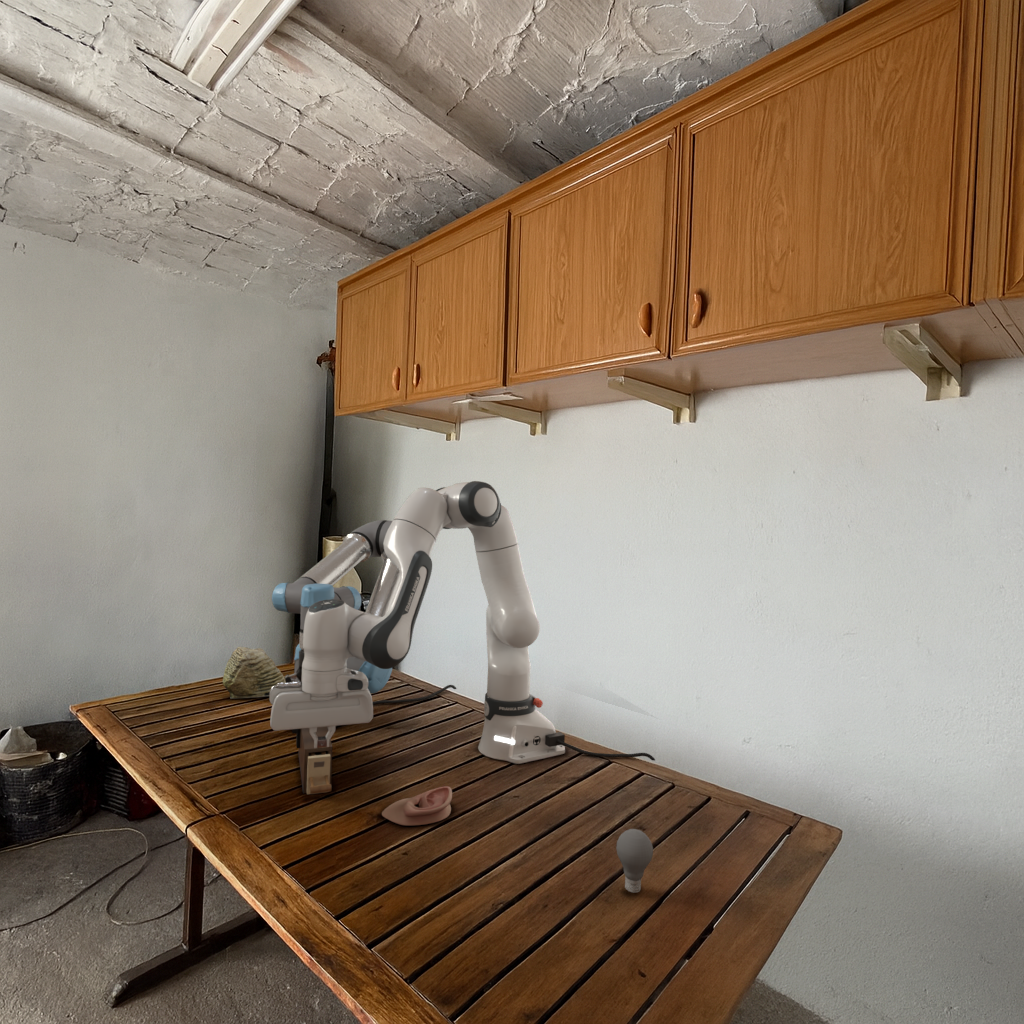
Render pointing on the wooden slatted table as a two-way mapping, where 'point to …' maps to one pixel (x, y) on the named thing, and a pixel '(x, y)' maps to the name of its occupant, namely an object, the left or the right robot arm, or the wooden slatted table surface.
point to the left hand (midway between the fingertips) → (312, 744)
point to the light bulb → (634, 857)
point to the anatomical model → (421, 808)
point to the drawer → (318, 773)
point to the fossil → (251, 673)
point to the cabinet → (308, 747)
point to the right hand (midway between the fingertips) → (321, 746)
